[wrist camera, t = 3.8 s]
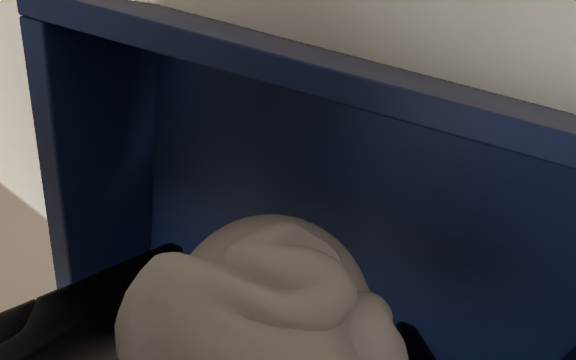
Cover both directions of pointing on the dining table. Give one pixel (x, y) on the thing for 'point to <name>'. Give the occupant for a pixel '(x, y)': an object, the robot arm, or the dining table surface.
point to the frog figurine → (257, 300)
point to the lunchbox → (306, 167)
